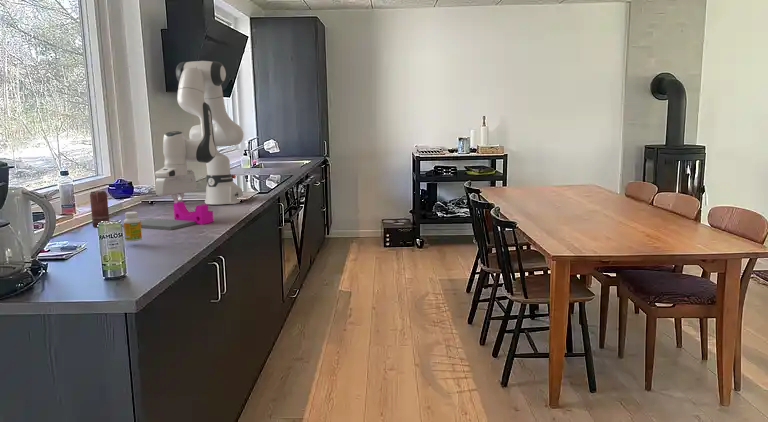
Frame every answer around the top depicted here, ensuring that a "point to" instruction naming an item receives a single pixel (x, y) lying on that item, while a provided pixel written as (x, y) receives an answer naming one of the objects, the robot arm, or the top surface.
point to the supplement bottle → (132, 227)
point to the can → (99, 207)
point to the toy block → (193, 213)
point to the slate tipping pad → (165, 223)
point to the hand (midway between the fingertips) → (178, 204)
